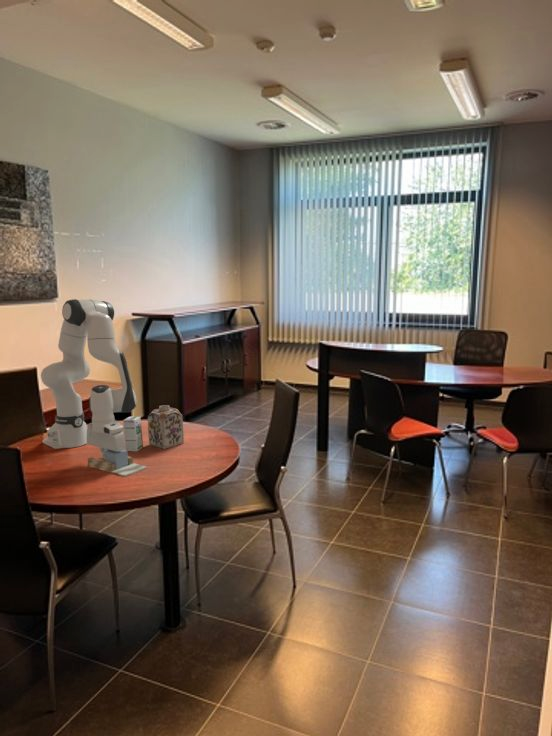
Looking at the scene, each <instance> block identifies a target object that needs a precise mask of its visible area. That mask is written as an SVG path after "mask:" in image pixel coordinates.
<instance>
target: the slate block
mask: <svg viewBox="0 0 552 736" xmlns="http://www.w3.org/2000/svg"><path fill="white" fill-rule="evenodd" d="M128 456H129V454H128V451H127V450H126V449H124V450H122V451H119V452H116V451H112V450H108V451H105V452H104V458H103V459H105V461H107V462H110V463H114V464H115V466H116V469H118V468H121V467H123V466H126V465H128Z"/></svg>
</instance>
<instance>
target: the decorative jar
mask: <svg viewBox="0 0 552 736" xmlns="http://www.w3.org/2000/svg"><path fill="white" fill-rule="evenodd" d="M147 433H148V445H150V446H153V447H156V448H159V449H162V450H167V449H170V448H173V447H176V446H179V445H182V444H184V441H185V438H184V437H185V436H184V435H185V433H184V421H183V414H182V412H180V411H179V409H177V408H174V407H170V405H167V404H165V405H159V407H158V408H156V409H153V410H152V411H150V413H149V414H148V416H147Z"/></svg>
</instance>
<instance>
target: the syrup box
mask: <svg viewBox="0 0 552 736" xmlns="http://www.w3.org/2000/svg"><path fill="white" fill-rule="evenodd" d="M141 418H142V417H141V416H137V415H135V416H128V417H126V418H125V419H123V420H122V422H123V427H124V430H123V434H124V439H125V450H127V452H139V451H140V450H141V449H143V448H144V444H143V443H144V441H143V429H142V419H141Z"/></svg>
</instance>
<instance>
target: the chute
mask: <svg viewBox="0 0 552 736" xmlns="http://www.w3.org/2000/svg"><path fill="white" fill-rule="evenodd" d="M133 459H134V458H133V456H129V455H128V465H126V466H123V467H121V468H118V469H116V466H115V464H114V463H110V462H107V461H105V459H104V458H102V459H100V458H94V457H92V456H91V457H88V458H87V467H90V468H93V469H97V470H101V471H104V472H107V473H111V474H114V475H117V476H122V477H128V476H130V475H134V474H136V473H138V472H141V471H143V470H145V469H148V466H145V465H142V464H140V463H139V464H138V463H134V460H133Z"/></svg>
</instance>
